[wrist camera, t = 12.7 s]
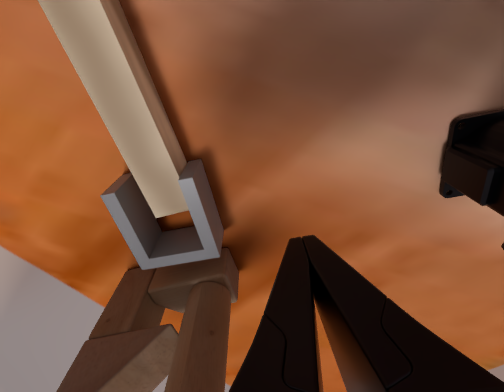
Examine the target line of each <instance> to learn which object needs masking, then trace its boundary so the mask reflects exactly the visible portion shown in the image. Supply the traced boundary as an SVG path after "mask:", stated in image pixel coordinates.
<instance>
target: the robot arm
mask: <svg viewBox="0 0 504 392" xmlns="http://www.w3.org/2000/svg"><path fill="white" fill-rule="evenodd" d="M460 123H461V126H460V127H459V128H458V125H459V124H460ZM441 179H442V180H441V186H440V194H441V195H442V196H443V197H445V198H451V197H457V196H463V195H466V196H467V197H469V198H470V199H472V200H474V201H475V202H477V203H478V204H480V205H482V206H485V205H486V206H488V207H490V208H491V209H493V210H494V211H496V212H497V213H499V214H501V215H502V216H504V109H501V110H496V111H491V112H486V113H481V114H476V115H471V116H466V117H461V118H457V119H455V120H454V121H453V122H452V123H451V126H450V132H449V138H448V144H447V150H446V153H445V159H444V165H443V171H442V177H441ZM447 191H448V192H447ZM446 192H447V193H446ZM501 247H502V248H503V250H504V243H503V244H502V246H501ZM314 300H315V304H316V307H317V310H318V312H319V315H320V318H321V321H322V323H323V326H324V329H325V332H326V334H327V337H328V340H329V343H330V345H331V348H332V351H333V354H334V356H335V359H336V362H337V365H338V367H339V370H340V373H341V376H342V378H343V381H344V384H345V387H346V390H347V392H504V382H503V381H501V380H500V379H498V378H497V377H495V376H494V375H492V374H490V373H489V372H488V371H487V370H485V369H484V368H482V367H481V366H479V365H478V364H477V363H475V362H474V361H472V360H471V359H469V358H468V357H467V356H465V355H464V354H462V353H461V352H460V351H458V350H457V349H455V348H454V347H452V346H451V345H450V344H448V343H447V342H445V341H444V340H442V339H441V338H440V337H438V336H437V335H435V334H434V333H433V332H431V331H430V330H429V329H427V328H426V327H424V326H423V325H422V324H420V323H419V322H418V321H416V320H415V319H414V318H413V317H411V316H410V315H409V314H408V313H406V312H405V311H404V310H403V309H401V308H400V307H399V306H398V305H397V304H395V303H394V302H393V301H392V300H391V299H389V298H387V296H386V295H385V294H383V293H382V292H381V291H380V290H379V289H377V288H376V287H375V286H374V285H373V284H372V283H370V282H369V281H368V280H367V279H366V278H364V277H363V276H362V275H361V274H360V273H359V272H357V271H356V270H355V269H354V268H353V267H351V266H350V265H349V264H348V263H347V262H346V261H344V260H343V259H342V258H341V257H340V256H338V255H337V254H336V253H335V252H334V251H332V250H331V249H330V248H329V247H328V246H327V245H325V244H324V243H323V242H322V241H321V240H319V239H318V238H317V237H316V236H315V235H308V236H303V237H302V238H301V237H296V238H291V239H289V242H288V245H287V248H286V250H285V253H284V256H283V259H282V262H281V265H280V268H279V270H278V273H277V276H276V279H275V282H274V285H273V288H272V291H271V293H270V296H269V299H268V302H267V305H266V308H265V311H264V315H263V316H262V319H261V322H260V325H259V327H258V330H257V332H256V335H255V338H254V340H253V343H252V345H251V347H250V349H249V351H248V353H247V356H246V358H245V360H244V362H243V364H242V366H241V368H240V370H239V372H238V374H237V376H236V378H235V380H234V382H233V384H232V386H231V388H230V390H229V392H323V382H322V373H321V363H320V353H319V343H318V333H317V323H316V313H315V304H314Z"/></svg>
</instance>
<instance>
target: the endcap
mask: <svg viewBox="0 0 504 392" xmlns="http://www.w3.org/2000/svg"><path fill="white" fill-rule="evenodd" d="M178 183H179V185H180V188H181V190H182V193H183V196H184V198H185V201H186V203H187V206H188V209H189V211H190V214H191V217H192V219H193V222H194V224H195V226H193V227H187V228H182V229H176V230H170V231H165V232H162V231H161V228H160V226H159V224H158V222H157V220H156V218H155V216H154V213H153V212H152V210H151V208H150V206H149V204H148V202H147V201H146V199H145V197H144V195H143V193H142V191H141V189H140V188H139V186H138V184H137V182H136V180H135V178H134V177H133V175H132V173H128V174H123V175H122V176H121V177H119V178H118V179H117V180H116V181H115V182H114V183H113V184H112V185H111V186H110V187H109V188H108V189H107V190H106V191H105V192H104V193H103V194H102V195H100V196H101V198H102V200H103V201H104V203H105V205H106V207H107V209H108V210H109V212H110V214H111V216H112V217H113V219H114V221H115V223H116V225H117V226H118V228H119V230H120V232H121V233H122V235H123V237H124V239H125V241H126V242H127V244H128V246H129V248H130V250H131V251H132V253H133V255H134V257H135V258H136V260H137V262H138V264H139V266H140V267H141V269H142V270H146V269H152V268H158V267H164V266H170V265H176V264H182V263H188V262H194V261H200V260H206V259H212V258H218V257H220V254H221V248H222V241H223V234H224V229H223V226H222V223H221V220H220V217H219V213H218V210H217V207H216V204H215V201H214V198H213V195H212V191H211V188H210V185H209V182H208V179H207V176H206V173H205V170H204V166H203V163H202V160H201V159H197V160H192V161H188V163H187V165H186V167H185V169H184V170H183V172H182V174H181V176H180V177H179V179H178Z"/></svg>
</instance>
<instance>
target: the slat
mask: <svg viewBox="0 0 504 392" xmlns="http://www.w3.org/2000/svg"><path fill="white" fill-rule="evenodd" d="M38 2H39V3H40V5H41V7H42V9H43V11H44V13H45V14H46V16H47V18H48V20H49V22H50V24H51V25H52V27H53V29H54V31H55V33H56V35H57V37H58V38H59V40H60V42H61V44H62V46H63V48H64V49H65V51H66V53H67V55H68V57H69V59H70V61H71V62H72V64H73V66H74V68H75V70H76V72H77V73H78V75H79V77H80V79H81V81H82V83H83V84H84V86H85V88H86V90H87V92H88V94H89V96H90V97H91V99H92V101H93V103H94V105H95V107H96V108H97V110H98V112H99V114H100V116H101V118H102V119H103V121H104V123H105V125H106V127H107V129H108V131H109V132H110V134H111V136H112V138H113V140H114V142H115V143H116V145H117V147H118V149H119V151H120V153H121V154H122V156H123V158H124V160H125V162H126V164H127V166H128V167H129V169H130V171H131V173H132V175H133V177H134V178H135V180H136V182H137V184H138V186H139V188H140V189H141V191H142V193H143V195H144V197H145V199H146V201H147V202H148V204H149V206H150V208H151V210H152V212H153V213H154V215H155V217H156V218H159V217H163V216H167V215H171V214H175V213H179V212H183V211H187V210H189V209H188V206H187V203H186V201H185V198H184V196H183V193H182V190H181V188H180V185H179V183H178V179H179V177H180V176H181V174H182V172H183V170H184V169H185V167H186V165H187V162H186V159H185V157H184V154H183V152H182V150H181V147H180V145H179V142H178V140H177V138H176V135H175V133H174V131H173V128H172V126H171V123H170V121H169V119H168V116H167V114H166V112H165V109H164V107H163V104H162V102H161V100H160V97H159V95H158V93H157V90H156V88H155V85H154V83H153V81H152V78H151V76H150V73H149V71H148V69H147V66H146V64H145V62H144V59H143V57H142V54H141V52H140V50H139V47H138V45H137V43H136V40H135V38H134V35H133V33H132V31H131V28H130V26H129V24H128V21H127V19H126V16H125V14H124V12H123V9H122V7H121V4H120V2H119V0H38Z"/></svg>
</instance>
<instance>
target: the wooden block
mask: <svg viewBox="0 0 504 392" xmlns="http://www.w3.org/2000/svg"><path fill="white" fill-rule="evenodd" d="M238 280H239V272H238V270H237V267H236V265H235V263H234V260H233V258H232V256H231V253H230V251H229V249H228V248H223V249H221V254H220V257H218V258H212V259H206V260H200V261H194V262H188V263H182V264H176V265H170V266H164V267H158V268H152V269H146V270H142V269H141V267H140V268H136V269H132V270H128V271H127V272H126V273H125V274H124V276H123V278H122V279H121V281H120V283H119V285H118V286H117V288H116V290H115V292H114V293H113V295H112V297H111V299H110V300H109V302H108V304H107V306H106V308H105V309H104V311H103V313H102V315H101V316H100V318H99V320H98V322H97V323H96V325H95V327H94V329H93V330H92V332H91V334H90V336H89V340H87V341H85V343H84V344H83V346H82V348H81V350H80V351H79V353H78V355H77V357H76V358H75V360H74V362H73V364H72V365H71V367H70V369H69V371H68V372H67V374H66V376H65V378H64V379H63V381H62V383H61V385H60V387H59V388H58V390H57V392H152V391H153V390H154V389H155V388H156V387H157V386H158V385H159V384H160V383H161V382H162V381H163V380H164V379H165V377H166V376H167V375H168V374H169V375H168V379H167V383H166V387H165V391H164V392H224V390H225V377H226V363H227V350H228V336H229V322H230V309H231V303H234V302H236V301H237V299H238ZM165 308H168V309H171V310H174V311H177V312H181V313H184V315H183V319H182V323H181V327H180V331H179V334H178V333H177V331H176V330H175V328H174V327H173V325H172V324H166V325H161V326H160V323H161V319H162V316H163V313H164V310H165Z"/></svg>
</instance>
